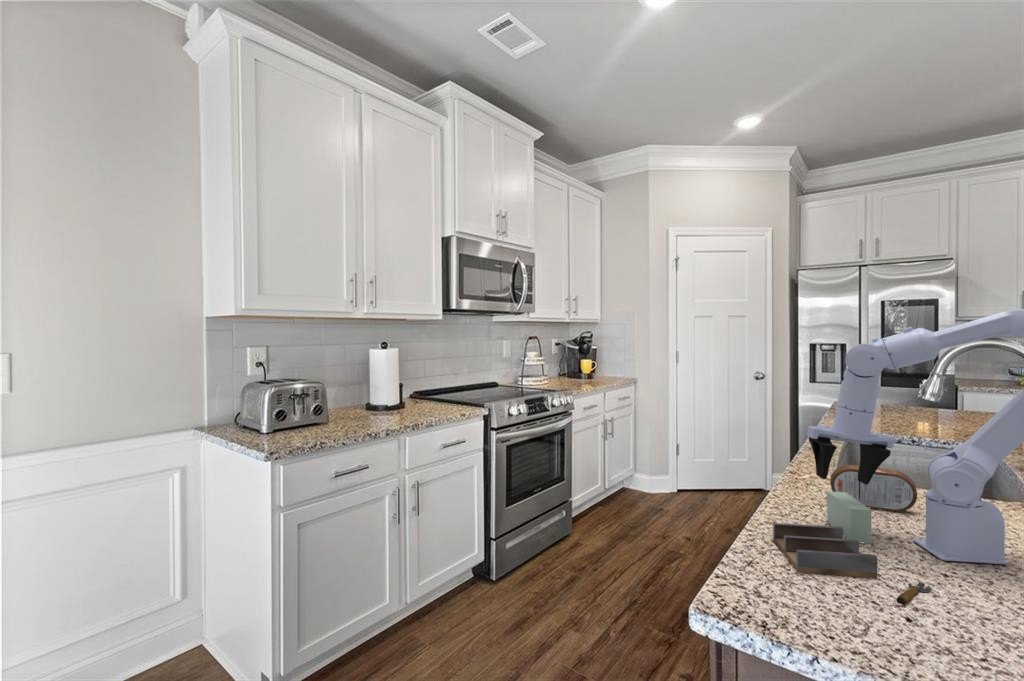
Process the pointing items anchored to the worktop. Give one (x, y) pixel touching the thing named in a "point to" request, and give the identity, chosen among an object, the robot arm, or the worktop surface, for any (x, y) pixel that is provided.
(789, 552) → the rack
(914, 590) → the can opener
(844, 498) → the tall sage green block
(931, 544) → the robot arm
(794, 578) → the worktop surface
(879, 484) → the tin
